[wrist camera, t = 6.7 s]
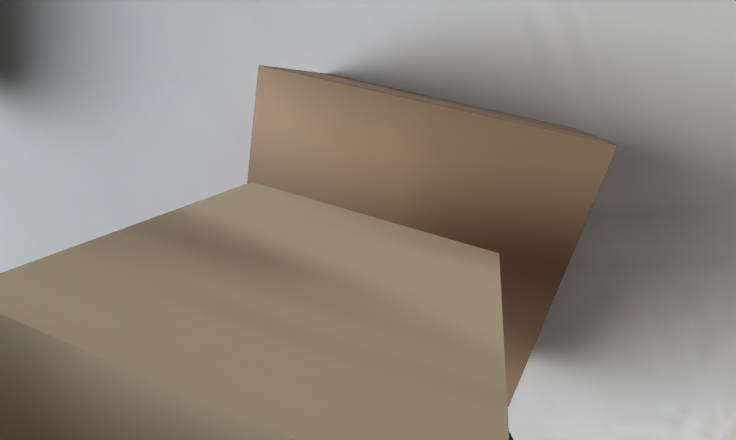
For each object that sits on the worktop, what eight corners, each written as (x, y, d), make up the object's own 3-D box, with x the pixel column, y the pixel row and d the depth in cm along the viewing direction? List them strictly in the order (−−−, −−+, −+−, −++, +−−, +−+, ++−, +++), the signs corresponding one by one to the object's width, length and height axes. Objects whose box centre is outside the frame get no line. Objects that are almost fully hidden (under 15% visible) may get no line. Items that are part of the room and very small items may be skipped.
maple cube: (429, 454, 9) (365, 836, 4) (232, 374, 10) (10, 616, 5) (499, 253, 7) (513, 532, 3) (252, 181, 8) (-50, 292, 4)
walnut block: (493, 345, 17) (494, 440, 12) (296, 278, 18) (232, 339, 14) (574, 128, 14) (617, 146, 9) (328, 73, 15) (258, 65, 11)
